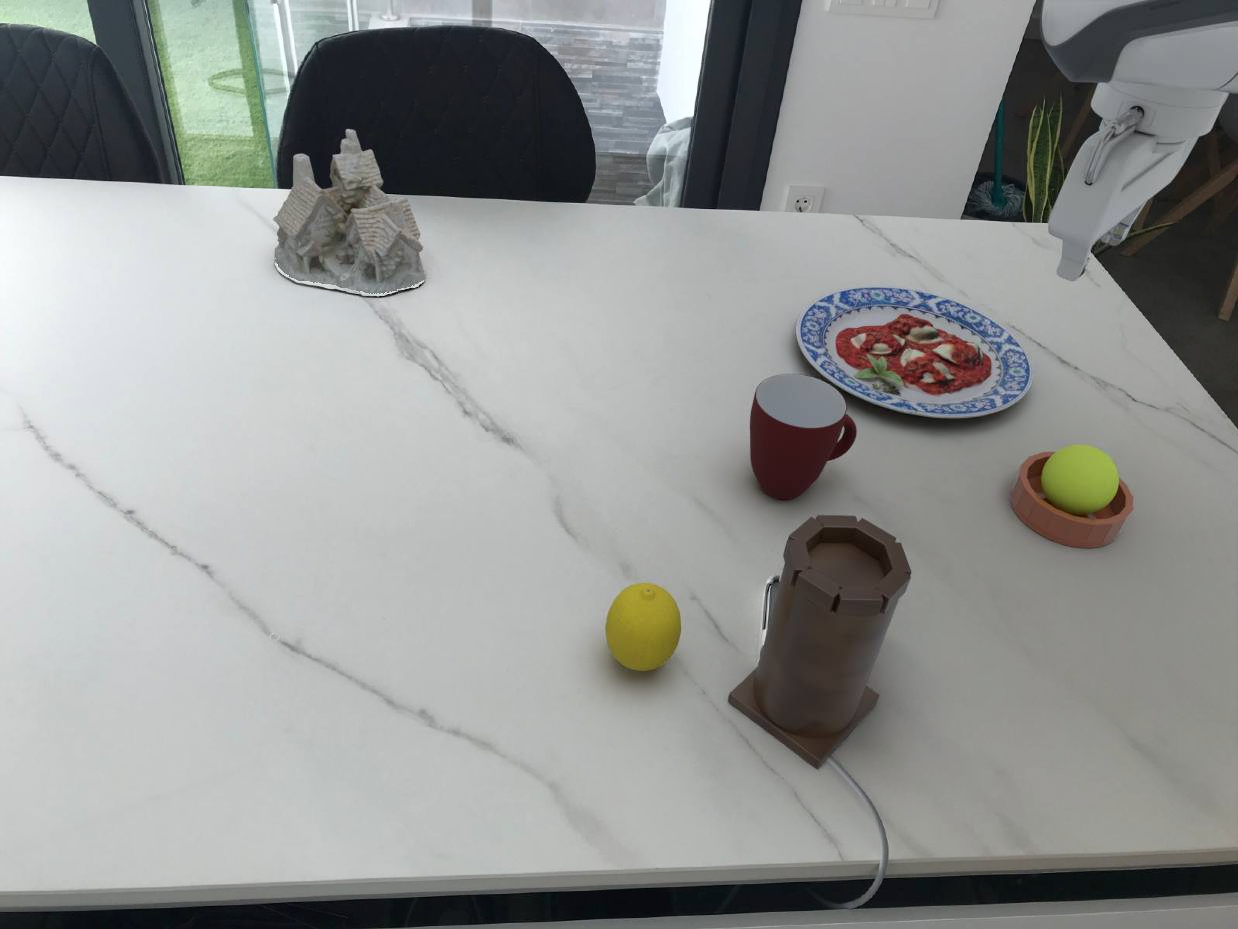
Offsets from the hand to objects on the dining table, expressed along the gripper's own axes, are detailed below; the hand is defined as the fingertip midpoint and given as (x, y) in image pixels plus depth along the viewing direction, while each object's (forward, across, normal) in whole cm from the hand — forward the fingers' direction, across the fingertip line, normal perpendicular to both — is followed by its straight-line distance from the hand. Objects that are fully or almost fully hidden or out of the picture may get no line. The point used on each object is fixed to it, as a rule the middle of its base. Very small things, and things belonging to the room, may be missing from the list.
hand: (1090, 258), depth 83 cm
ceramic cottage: (+22, -26, +72) cm, 79 cm away
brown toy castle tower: (+22, -40, -2) cm, 45 cm away
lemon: (+22, -46, +9) cm, 51 cm away
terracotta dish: (+22, -4, -7) cm, 23 cm away
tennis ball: (+18, -4, -7) cm, 20 cm away
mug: (+22, -20, +13) cm, 32 cm away
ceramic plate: (+22, +8, +16) cm, 28 cm away
